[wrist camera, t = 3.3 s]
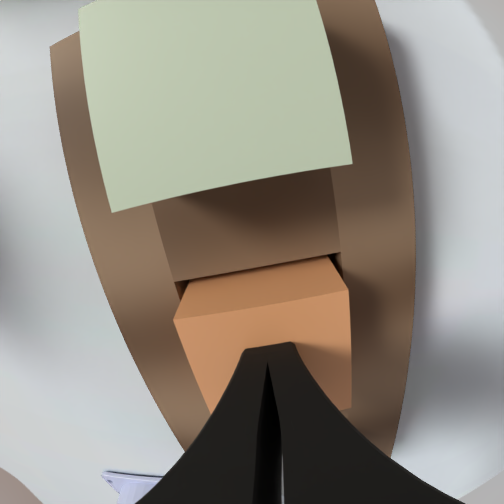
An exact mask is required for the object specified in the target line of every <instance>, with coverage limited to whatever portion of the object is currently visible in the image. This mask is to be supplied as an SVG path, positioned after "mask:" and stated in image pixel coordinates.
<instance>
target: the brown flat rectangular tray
mask: <svg viewBox="0 0 504 504" xmlns="http://www.w3.org/2000/svg"><path fill="white" fill-rule="evenodd" d="M316 1H317V5H318V8H319V11H320V15H321V18H322V22H323V25H324V29H325V32H326V36H327V40H328V43H329V47H330V51H331V55H332V59H333V63H334V68H335V72H336V76H337V81H338V85H339V90H340V95H341V100H342V105H343V110H344V115H345V120H346V126H347V131H348V137H349V143H350V150H351V156H352V163H353V164H349V165H342V166H335V167H328V168H321V169H315V170H309V171H302V172H296V173H290V174H285V175H279V176H273V177H268V178H262V179H257V180H252V181H247V182H242V183H237V184H232V185H227V186H222V187H217V188H212V189H208V190H203V191H199V192H194V193H190V194H185V195H181V196H177V197H172V198H168V199H164V200H160V201H156V202H152V203H148V204H144V205H140V206H136V207H132V208H128V209H125V210H121V211H117V212H113V213H112V212H111V208H110V204H109V200H108V197H107V193H106V189H105V185H104V181H103V177H102V172H101V168H100V164H99V159H98V155H97V150H96V145H95V140H94V135H93V130H92V125H91V119H90V113H89V107H88V101H87V95H86V88H85V80H84V73H83V64H82V55H81V45H80V32H79V31H78V32H76V33H74V34H72V35H70V36H68V37H67V38H65V39H63V40H61V41H59V42H57V43H55V44H54V45H52V46H50V57H51V69H52V80H53V89H54V97H55V105H56V112H57V118H58V125H59V130H60V136H61V142H62V147H63V152H64V157H65V161H66V166H67V170H68V175H69V179H70V183H71V187H72V191H73V195H74V199H75V203H76V207H77V210H78V214H79V217H80V221H81V224H82V228H83V231H84V234H85V237H86V240H87V244H88V247H89V250H90V253H91V256H92V259H93V262H94V265H95V267H96V270H97V273H98V276H99V279H100V281H101V284H102V287H103V289H104V292H105V295H106V297H107V300H108V302H109V305H110V307H111V310H112V312H113V314H114V317H115V319H116V322H117V324H118V326H119V329H120V331H121V333H122V335H123V338H124V340H125V342H126V344H127V346H128V349H129V351H130V353H131V355H132V357H133V359H134V361H135V363H136V365H137V367H138V369H139V372H140V374H141V375H142V377H143V379H144V381H145V383H146V385H147V387H148V389H149V391H150V393H151V395H152V397H153V398H154V400H155V402H156V404H157V406H158V408H159V409H160V411H161V413H162V415H163V416H164V418H165V420H166V422H167V423H168V425H169V427H170V428H171V430H172V432H173V433H174V435H175V437H176V438H177V440H178V442H179V443H180V445H181V446H182V448H183V450H184V451H186V450H187V449H188V448H189V446H190V445H191V444H192V442H193V441H194V440H195V438H196V437H197V435H198V434H199V433H200V431H201V430H202V428H203V426H204V425H205V423H206V422H207V420H208V419H209V417H210V416H211V414H210V411H209V409H208V407H207V405H206V402H205V400H204V398H203V395H202V393H201V390H200V388H199V386H198V383H197V381H196V378H195V376H194V374H193V371H192V369H191V366H190V364H189V361H188V358H187V356H186V353H185V351H184V348H183V345H182V343H181V340H180V337H179V335H178V332H177V329H176V327H175V324H174V321H173V319H174V316H175V314H176V311H177V309H178V307H179V304H180V302H181V300H182V297H183V295H184V293H185V290H186V288H187V286H188V283H189V281H190V279H194V278H199V277H205V276H211V275H217V274H222V273H228V272H234V271H239V270H245V269H250V268H256V267H261V266H267V265H272V264H278V263H283V262H289V261H294V260H300V259H305V258H310V257H316V256H321V255H326V254H327V256H328V257H329V259H330V261H331V262H332V264H333V265H334V267H335V269H336V270H337V272H338V273H339V275H340V277H341V278H342V280H343V282H344V283H345V285H346V286H347V288H348V291H349V307H350V328H351V365H352V400H351V408H349V409H344V410H340V412H341V413H342V414H343V415H344V416H345V417H346V418H347V419H348V420H349V422H350V423H351V424H352V425H353V426H354V427H355V428H356V429H357V430H358V431H360V432H361V433H362V434H363V435H364V436H365V437H366V438H367V439H368V440H369V441H370V442H371V443H373V444H374V445H375V446H376V447H377V448H379V449H380V450H381V451H382V452H383V453H385V454H386V455H387V456H388V457H390V458H391V454H392V450H393V446H394V441H395V437H396V433H397V428H398V424H399V419H400V414H401V409H402V403H403V398H404V392H405V386H406V379H407V372H408V365H409V357H410V349H411V339H412V328H413V316H414V299H415V271H416V239H415V211H414V195H413V182H412V171H411V162H410V153H409V145H408V138H407V131H406V125H405V118H404V113H403V107H402V102H401V96H400V91H399V87H398V82H397V77H396V73H395V69H394V64H393V60H392V56H391V52H390V49H389V45H388V41H387V38H386V34H385V31H384V27H383V24H382V21H381V18H380V15H379V12H378V8H377V6H376V3H375V0H316Z"/></svg>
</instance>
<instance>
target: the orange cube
mask: <svg viewBox="0 0 504 504" xmlns="http://www.w3.org/2000/svg"><path fill="white" fill-rule="evenodd" d="M173 321H174V324H175V327H176V329H177V332H178V335H179V337H180V340H181V343H182V345H183V348H184V351H185V353H186V356H187V358H188V361H189V364H190V366H191V369H192V371H193V374H194V376H195V378H196V381H197V383H198V386H199V388H200V390H201V393H202V395H203V398H204V400H205V402H206V405H207V407H208V409H209V411H210V414H212V412H213V411H214V409H215V407H216V406H217V404H218V402H219V400H220V399H221V397H222V395H223V393H224V391H225V389H226V387H227V385H228V384H229V381H230V379H231V377H232V375H233V373H234V371H235V369H236V366H237V364H238V362H239V359H240V357H241V354H242V352H243V351H244V350H245V349H247V348H253V347H260V346H266V345H272V344H278V343H284V342H289V341H291V342H293V343H294V344H295V345H296V348H297V351H298V353H299V355H300V357H301V359H302V361H303V362H304V364H305V366H306V367H307V369H308V370H309V372H310V374H311V375H312V376H313V378H314V379H315V381H316V382H317V383H318V385H319V386H320V387H321V389H322V390H323V391H324V393H325V394H326V395H327V397H328V398H329V399H330V400H331V401H332V403H333V404H334V405H335V406H336V407H337V408H338V410H339V411H340V410H344V409H349V408H351V400H352V365H351V328H350V307H349V291H348V288H347V286H346V285H345V283H344V282H343V280H342V278H341V277H340V275H339V273H338V272H337V270H336V269H335V267H334V265H333V264H332V262H331V261H330V259H329V257H328V256H327V254H326V255H321V256H316V257H310V258H305V259H300V260H294V261H289V262H283V263H278V264H272V265H267V266H261V267H256V268H250V269H245V270H239V271H234V272H228V273H222V274H217V275H211V276H205V277H199V278H194V279H190V281H189V283H188V286H187V288H186V290H185V293H184V295H183V297H182V300H181V302H180V304H179V307H178V309H177V311H176V314H175V316H174V319H173Z"/></svg>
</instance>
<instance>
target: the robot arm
mask: <svg viewBox="0 0 504 504" xmlns="http://www.w3.org/2000/svg"><path fill="white" fill-rule="evenodd" d="M282 458H283V483H284V504H465V503H463V502H461V501H459V500H457V499H455V498H453V497H451V496H449V495H447V494H445V493H443V492H441V491H440V490H438V489H436V488H434V487H433V486H431V485H429V484H427V483H426V482H424V481H422V480H421V479H419V478H418V477H417V476H415V475H414V474H412V473H411V472H409V471H408V470H406V469H405V468H404V467H402V466H401V465H399V464H398V463H397V462H395V461H394V460H392V459H391V458H390V457H388V456H387V455H386V454H385V453H383V452H382V451H381V450H380V449H379V448H377V447H376V446H375V445H374V444H373V443H371V442H370V441H369V440H368V439H367V438H366V437H365V436H364V435H363V434H362V433H361V432H360V431H358V430H357V429H356V428H355V427H354V426H353V425H352V424H351V423H350V422H349V420H348V419H347V418H346V417H345V416H344V415H343V414H342V413H341V412H340V411H339V410H338V408H337V407H336V406H335V405H334V404H333V403H332V401H331V400H330V399H329V398H328V397H327V395H326V394H325V393H324V391H323V390H322V389H321V387H320V386H319V385H318V383H317V382H316V381H315V379H314V378H313V376H312V375H311V374H310V372H309V370H308V369H307V367H306V366H305V364H304V362H303V361H302V359H301V357H300V355H299V353H298V351H297V348H296V345H295V344H294V343H293V342H291V341H289V342H284V343H278V344H272V345H266V346H260V347H253V348H247V349H245V350H244V351H243V352H242V354H241V357H240V359H239V362H238V364H237V366H236V369H235V371H234V373H233V375H232V377H231V379H230V381H229V384H228V385H227V387H226V389H225V391H224V393H223V395H222V397H221V399H220V400H219V402H218V404H217V406H216V407H215V409H214V411H213V412H212V414H211V416H210V417H209V419H208V420H207V422H206V423H205V425H204V426H203V428H202V430H201V431H200V433H199V434H198V435H197V437H196V438H195V440H194V441H193V442H192V444H191V445H190V446H189V448H188V449H187V450H186V451H185V453H184V454H183V455H182V456H181V458H180V459H179V460H178V461H177V462H176V464H175V465H174V466H173V467H172V468H171V469H170V470H169V471H168V472H167V473H166V474H165V476H164V477H163V478H159V477H145V476H135V475H126V474H118V473H111V472H102V475H101V476H102V478H103V479H104V480H105V481H106V482H107V483H108V484H109V485H110V486H112V487H113V488H114V489H115V490H116V491H117V492H118V493H119V494H120V495H119V498H118V501H117V504H282Z"/></svg>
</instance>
